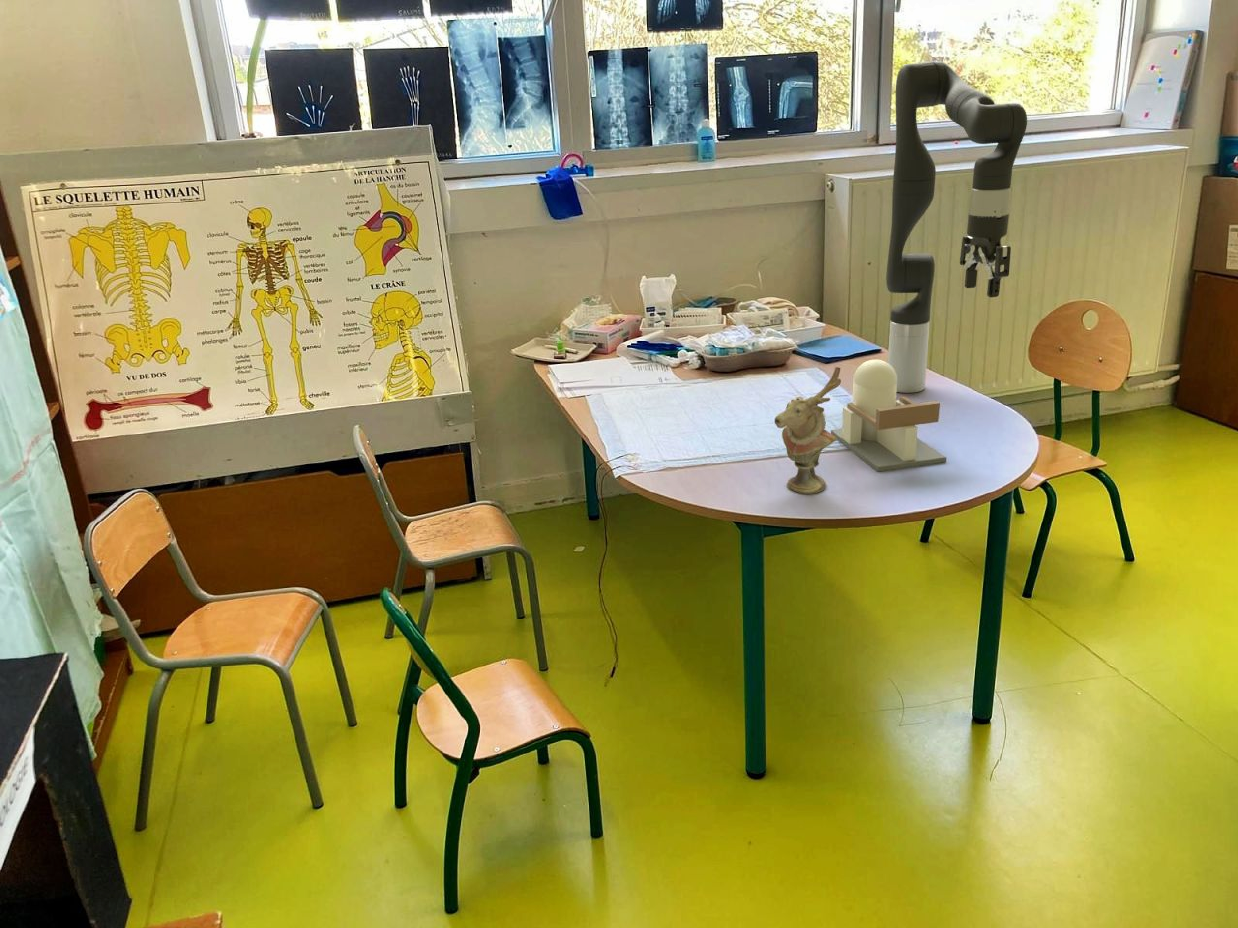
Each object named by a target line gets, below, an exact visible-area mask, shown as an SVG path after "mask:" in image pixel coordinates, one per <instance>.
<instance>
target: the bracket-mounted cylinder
mask: <svg viewBox="0 0 1238 928" xmlns="http://www.w3.org/2000/svg"><path fill="white" fill-rule="evenodd" d="M852 379H853V382H852V383H853V385H852V403H853V404H854V405H856V406H857V407H859V408H860V409H862V410H863V411H864V412H866V413H867V414H869V415H870V416H872V417H873V418H875V419H876V409H879V408H886V407H894V406H901V405H905V404H903V403H902V402H900V401H899V399H898V400H897V392H896V390H897V375H896V372H895V370H894V369H893V367H892V366H891V365H890V364H888V363H887V361H884V360H881V359H869V360H867V361H864V362H863V363H862V364H860V365H859V366H858V368H857V369H856V371H855V372H854V374H853V378H852ZM830 434H832V435H834V436H835V437H836V441H839V442H840V443H841V444H842V445H844V446H845V447H846V448H847V449H848V450H850V451H851V452H852V453H853V454H855V455H856V456H857V457H859V459H861V460H862V461H864V462H865V463H866V464H868V465H869V466H870V467H871V468H872V469H873V470H875V471H876V472H883V471H889V470H890V471H891V470H898V469H905V468H912V467H918V466H926V465H932V464H939V463H941V464H942V463H946V462H947V457H946V456H945V455H944V454H943V453H940V452H939V451H938V450H936V449H935V448H934V447H932V446H930V445H929V444H927V443H926V442H925V441H923V440H922V439H920V438H918V425H912V426H905V427H898V428H890V429H883V430H878V429H877V428H875V427H874V426H872V425H871V424H870V423H868V422H867V421H865V420H864V419H862V418H861V417H860V416H858V415H857V414H855V413H854V412H853V411H851V410H850V409H848V408H847V406H843V407H842V428H836V429H831V430H830Z"/></svg>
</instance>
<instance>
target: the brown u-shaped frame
mask: <svg viewBox="0 0 1238 928" xmlns="http://www.w3.org/2000/svg"><path fill="white" fill-rule="evenodd" d="M898 400H899V401H900V402H902V403H903V404H905V405H901V406H894V407H886V408H879V409H876V419H875V418H873V417H872V416H870V415H869V414H867V413H866V412H864V411H863V410H862V409H860V408H859V407H857V406H856V405H854V404H853V402H848V403H846V407H847V408H848V409H850V410H851V411H853V412H854V413H855V414H857V415H858V416H860V417H861V418H862V419H864V420H865V421H867V422H868V423H870V424H871V425H872V426H874V427H875V428H877V429H878V430H883V429H890V428H898V427H905V426H912V425H915V426H919V425H925V424H926V425H927V424H932V423H933V424H934V423H939V420H940V407H941V406H940V405H941V402H939V401H938V400H933V401H925V402H919V403H916V402H914V401H913V400H911V399H909V398H908V397H906V396H905V395H900V396H898Z"/></svg>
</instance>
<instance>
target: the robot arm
mask: <svg viewBox="0 0 1238 928" xmlns="http://www.w3.org/2000/svg"><path fill="white" fill-rule="evenodd" d="M937 105H943V106H944V109H945V112H946V115H947V116H948V118H949V119H950V120H951V121H952V122H953V123H955V124H957V125H958V126H960V127H961V128H963V130H964V131H965V134H967V137H968V138H969V140H970V141H971V142H973V143H975V144H978V145H979V144H980V145H989V144H997V145H996V146H995V148H994V151H993V152H991V153H989V154H987V155H985V156H982V157H979V158H977V159H976V161H975V163H974V166H973V174H972V176H973V177H972V186H971V192H970V193H971V194H970V197H969V198H970V199H969V205H968V206H969V207H968V215H967V216H968V217H967V227H966V228H967V230H966V234H967V235H966V236H965V235H964V236H963V237H962V240H961V248H960V258H959V264H960V266H963V268H964V270H965V277H964V288H966V289H974V288H976V287H977V282H978V281H977V280H978V268H979V265H980V264H982V265H983V268H984V269H985V270H986V271H987V275H988V278H987V279H988V282H987V290H986V291H987V293H986V296H987V297H988V298H997V297H999V295H1000V291H1001V290H1000V289H1001V280H1002V278H1004V277H1005V278H1007V277H1009V276H1010V268H1011V267H1010V265H1011V253H1012V252H1011V251H1012V248H1011V246H1010V245H1004V246H1002V241H1001V240H1002V238H1004V237H1005V236H1007V234H1008V228H1009V227H1008V226H1009V218H1010V207H1011V185H1012V176H1013V175H1012V174H1013V167H1014V163H1015V160H1016V158H1017V155H1018V153H1019V150H1020V146H1021V144H1022V142H1023V139H1024V137H1025V134H1026V131H1027V126H1028V115H1027V112H1026V109H1025V108H1024V106H1022V105H1021V104H1020V103H1017V102H1012V103H1011V102H1010V103H997V104H995V101H994V100H993V99H992V98H991V97H990V96H988V95H987V94H985V93H984V92H981V91H979V90H977V89H975V88H973V87H972V86H970V85H969V84H967V83H966V82H965V81H964V79H963V78H962V77H961V76H960V75H958V73H957V72H956V71H955V70H954V69H953V68H952V67H951V66H950V65H949V64H947V63H945V62H944V61H939V60H932V61H924V62H921V61H920V62H914V63H913V62H912V63H906V64H903V65H902V66H901V67H900V69H899V70H898V73H897V75H896V81H895V155H894V165H893V166H894V168H893V177H892V178H893V179H892V193H891V196H892V200H891V201H892V202H891V204H892V205H891V227H890V228H891V229H890V236H889V237H890V238H889V247H888V255H887V256H888V257H887V262H886V263H887V265H886V277H885V279H886V282H885V283H886V288H887V291H889V293H891V294H916V295H915V296H914V297H913V298H912V299H910V300H909V301H906V302H904V303H901V304H899V305H896V306H894V307H893V308H892V309H891V311H890V317H889V318H890V320H889V338H888V348H887V358H886V359H887V360H886V362H887V363H888V364H890V365H891V366H892V367H893V369H894V370H895V372H896V375H897V390H896V393H904V394H905V393H906V394H910V393H918V392H921V391H923V390H925V388H926V378H927V376H926V375H927V364H928V351H929V347H928V346H929V335H930V334H929V333H930V321H931V306H932V305H931V304H932V293H933V288H934V278H935V267H936V266H935V265H936V264H935V258H934V256H933V255H932V254H931V253H903V251H904V248H905V245H906V242H907V241H908V238H909V236H910V235H911V232H912V231H913V230H914V227H915V226H916V225H917V224H918V222H919V221H920V219H922V217H923V216H924V214H925V213H926V211H928V209H929V207H930V206H931V204H932V202H933V200H934V197H935V189H936V188H935V186H936V164H935V162H934V159H933V158H932V156H931V154H930V152H929V150H928V148H927V147H926V145H925V143H924V141H923V140H922V138H921V135H920V132H919V129H918V124H917V109H919V108H929V107H935V106H937ZM1002 266H1003V268H1002Z"/></svg>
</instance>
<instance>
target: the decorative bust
mask: <svg viewBox="0 0 1238 928" xmlns="http://www.w3.org/2000/svg"><path fill="white" fill-rule="evenodd" d="M840 372H841V367H837V366H836V367H835V368H834V371H833V373H832V376H831V377H830V379H829V380H828V381H827V383H826V384H825V385H824V387H823V388H822V389H821V390H820V391H819V392H817V394H816V395H814V396H810V397H808V398H806V399H804V398H803V397H802V396H797V397H795V398H793V399H791V400H790V402H787V404H786V408H785V409H784V411H781V412H780V413H779V414H777V415H776V416H775V417H774V425H775V426H776V427H777V428H778V429H782V431H781V438H782V440H783V444H784V446H785V449H786V455H787V457H788V458H789V460H791V462H792V461H793V462H794V465H795V467H796V468H797V473H796V475H794V476H792V477H791V478H789V479H788V480H787V482H786V486H787V488H788V489H789V490H790V491H792V492H795V493H797V494H802V495H813V494H818V493H821V492H822V491H824V490H825V488H826V487H827V485H826V481H825V479H824V478H823V477H822V476H820V475H818V474H816V470H815V468H816V467H818V466H819V465H820V462H819V460H820V456H821V453H822V451H823V450H824V449H826V448H827V447H828V446H830V445H831V444H833V443H834V442H836V441H837V439H836V437H835V436H834V435H832V434H831V432H829V431H828V430H826V429H825V428H826V423H827V422H826V417H825V414H824V413H825V408H824V407H822V406H820V405H822V404H823V403H827V402H830V400H831V398H830V397H824V396H826V395H827V394H828V393H830V392H831V391H833V390H835V389H836V388H838V387H839V386H840V385H841V383H842V380H841V378H839V377H840ZM819 404H820V405H819Z"/></svg>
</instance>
